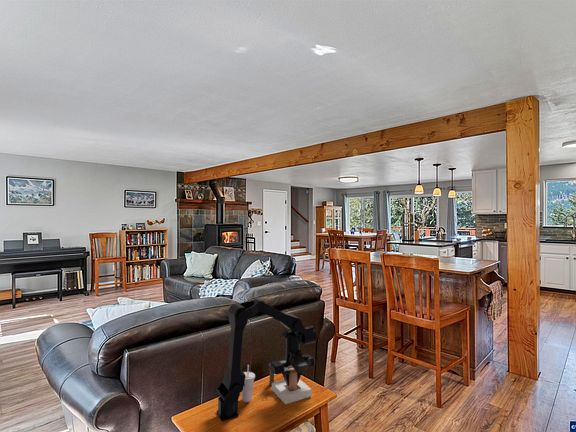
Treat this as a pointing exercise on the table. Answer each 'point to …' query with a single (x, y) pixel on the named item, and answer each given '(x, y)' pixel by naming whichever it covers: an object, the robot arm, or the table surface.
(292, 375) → the peg
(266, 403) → the table surface
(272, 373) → the grey arch
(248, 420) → the table surface
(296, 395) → the socket board
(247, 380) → the smoothie
